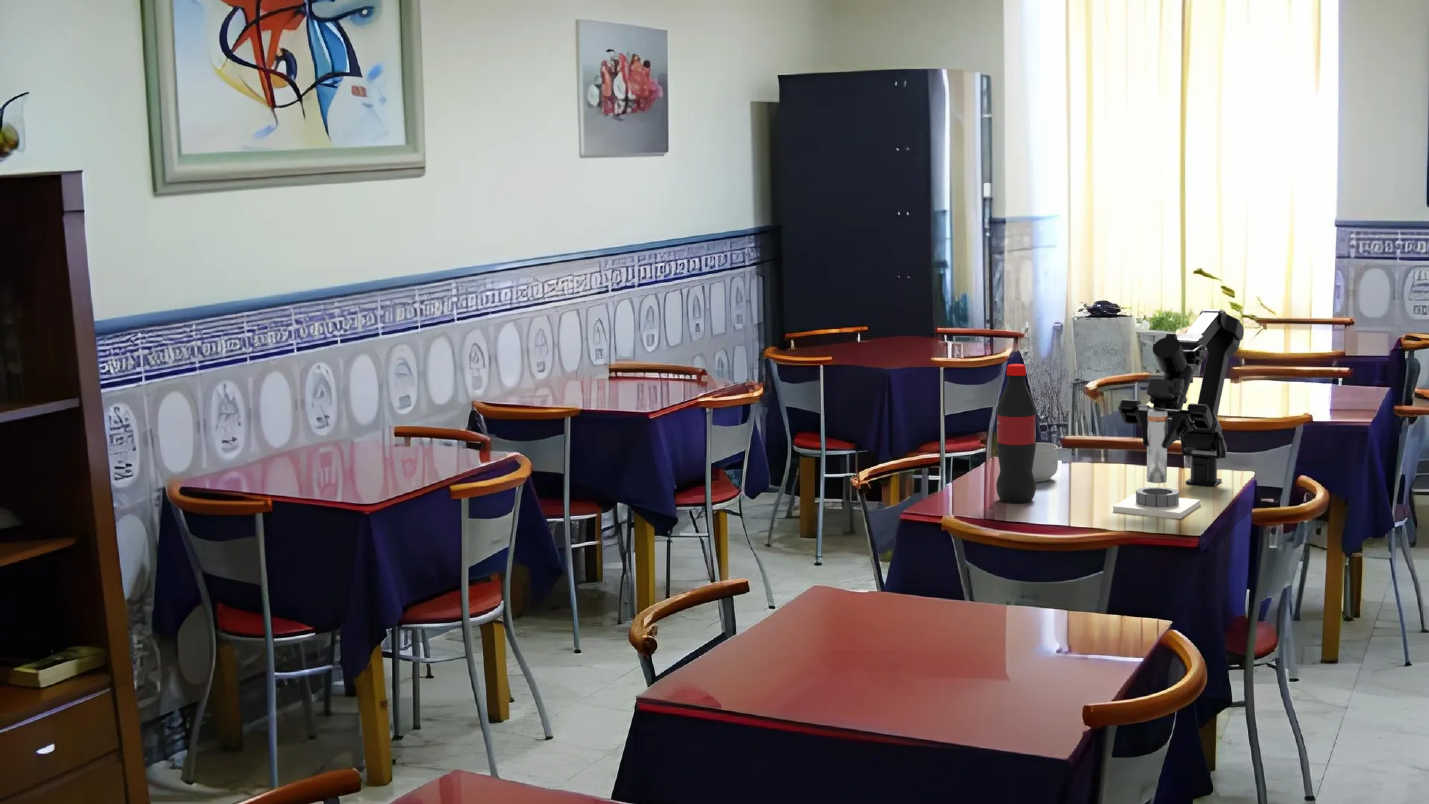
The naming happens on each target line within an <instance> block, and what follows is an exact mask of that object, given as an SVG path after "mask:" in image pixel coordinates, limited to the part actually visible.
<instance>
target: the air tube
mask: <svg viewBox="0 0 1429 804" xmlns="http://www.w3.org/2000/svg"><path fill="white" fill-rule="evenodd" d="M1168 422H1169V419H1168V410H1164V409H1150V410H1148V415H1147V446H1146V482H1148V483H1152V484H1164V483H1167V481H1168V479H1167V478H1168V477H1167V475H1168V448H1167V449H1165V448H1164V442H1165V439H1166V436H1167V433H1168Z"/></svg>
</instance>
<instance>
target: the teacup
mask: <svg viewBox="0 0 1429 804" xmlns="http://www.w3.org/2000/svg"><path fill="white" fill-rule="evenodd" d="M1058 450H1059V447H1058V445H1057V444H1055V443H1051V442H1050V443H1049V442H1036V450H1035V456H1034V462H1033V469H1032V472H1033V476H1034V479H1035V482H1036V483H1041V482H1047V481H1049V480H1051V479H1052V477H1053V476H1055V475H1056V474H1057V472H1058V468H1059V467H1058V466H1059V455H1058V454H1059V453H1058Z"/></svg>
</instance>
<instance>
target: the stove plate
mask: <svg viewBox="0 0 1429 804" xmlns="http://www.w3.org/2000/svg"><path fill="white" fill-rule="evenodd" d="M1201 503H1202V501H1201V499H1195V498H1186V497H1180V492H1179V491H1178V490H1177V489H1173V488H1171V487H1170V488H1168V487H1163V486H1162V487H1160V486H1154V487H1153V486H1148V487H1140V488H1138V489H1136V490H1135V493H1134V494H1131V495H1130V496H1128V497H1127V498H1125V499H1123V500H1122V501H1120V502H1118V503H1116V504H1115V505H1113V506H1112V509H1113V511H1112V513H1121V514H1129V515H1130V514H1131V515H1138V516H1139V515H1140V516H1149V517H1159V518H1160V517H1161V518H1168V519H1169V518H1171V519H1179V520H1181V519H1182V518H1184V517H1186V516H1187V515H1188V514H1189V513H1192V512H1193V511H1194V510H1196V509H1198V508H1199V507H1200V506H1201V505H1202V504H1201Z"/></svg>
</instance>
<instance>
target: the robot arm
mask: <svg viewBox="0 0 1429 804" xmlns="http://www.w3.org/2000/svg"><path fill="white" fill-rule="evenodd" d="M1244 331H1245V329H1244V325H1243V324H1242V323H1241V321H1240V320H1239V319H1238V318H1237V317H1234V316H1232V315H1230V314H1228V313H1227V312H1226V311H1225V310H1222V309H1215V308H1214V309H1213V308H1212V309H1211V308H1210V309H1209V308H1205V309H1201V311H1200V314H1199V317H1198V318H1197V319H1196V320H1195V322H1193V324H1192V325H1191V326H1190V327H1189V329H1188V330H1187V331H1186V332H1185V333H1181V334H1176V333H1166V335H1165V337H1162V338H1160V339H1158V340H1157V341H1156V342H1155V343H1154V344H1152V353H1153V355H1154V357H1155V360H1156V363H1157V366H1158V368H1159V371H1161V372H1163V376H1162V378H1161V379H1160V378H1159V379H1158V378H1149V379H1148V382H1147V383H1148V384H1147V387H1146V388H1147V389H1146V395H1147V396H1150V398H1149V402H1150V404H1152V405H1153V406H1150V405H1148V404H1142V402H1141V400H1139V399H1128V398H1127V399H1126V398H1124V399H1121V401H1120V402H1119V404H1118V407H1117V409H1118V411H1119V414H1120V416H1121V418H1122V420H1123V423H1125V424H1127V425H1138V426H1139V427H1140V428H1141V433H1142V442H1143V443H1142V445H1143V447H1144V448H1147V415H1148V410H1150V409H1164V410H1168V420H1171V423H1170V426H1169V428H1168V430H1167V436H1166V439H1165V442H1164V448H1165V449H1167V450H1168V449H1169V447H1170V446H1171V445H1173V443H1175V442H1176V441H1177V440H1179V439H1180V446H1181V447H1180V448H1181V456H1183V457H1186V456H1187V457H1190V478H1188V479H1187V480H1185V482H1184V483H1185V484H1188V485H1199V486H1200V485H1201V486H1210V487H1215V486H1216V485H1218V484H1219V483H1221V482H1222V480H1223V479H1222V478H1218V460H1221V459H1226V458H1227V453H1228V451H1227V449H1228V446H1227V443H1226V440H1225V439H1224V434H1223V428H1222V426H1221V424H1220V421H1219V419H1218V414H1219V409H1220V404H1221V399H1222V394H1223V390H1224V389H1223V388H1224V384H1225V379H1226V374H1227V368H1228V366H1229V365H1228V364H1229V359H1230V358H1231V357H1232V356H1233V355H1235V354H1236V353H1237V351H1238V350H1239V347H1240V344H1241V341H1242V340H1243V339H1244V334H1245V332H1244ZM1206 356H1207V357H1206ZM1205 358H1206V360H1205ZM1204 360H1205V361H1206V362H1205V366H1204V371H1203V375H1202V381H1201V386H1200V390H1199V395H1198V399H1197V403H1189V404H1188V405H1187V408H1186V409H1183V407H1184V404H1187V401H1188V398H1187V394H1188V391H1189V388H1190V385H1191V384H1193V383H1194V371H1193V368H1192V367H1191V366H1197V367H1198V366H1200V365H1201V364H1202V362H1203V361H1204Z"/></svg>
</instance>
